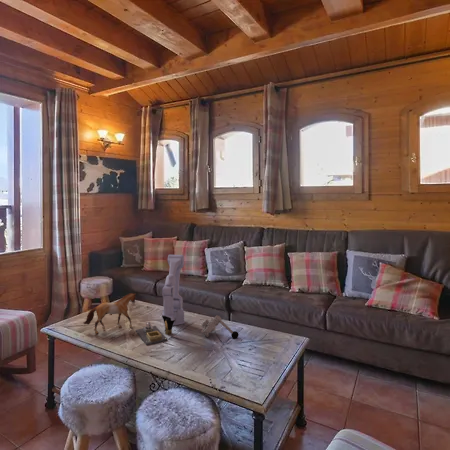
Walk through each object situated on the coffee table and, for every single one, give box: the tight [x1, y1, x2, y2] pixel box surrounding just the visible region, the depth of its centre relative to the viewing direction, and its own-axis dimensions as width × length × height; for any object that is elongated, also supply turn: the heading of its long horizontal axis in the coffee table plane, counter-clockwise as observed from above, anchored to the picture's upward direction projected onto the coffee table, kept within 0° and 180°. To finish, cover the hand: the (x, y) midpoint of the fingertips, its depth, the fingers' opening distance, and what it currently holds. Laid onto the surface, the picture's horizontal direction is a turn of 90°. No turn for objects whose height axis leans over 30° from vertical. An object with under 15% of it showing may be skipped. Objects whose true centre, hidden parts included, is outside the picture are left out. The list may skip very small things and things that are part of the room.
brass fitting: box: [164, 320, 173, 336], centre depth 191 cm, size 4×4×8 cm
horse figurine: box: [82, 292, 137, 334], centre depth 195 cm, size 31×8×21 cm, turn 117°
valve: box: [200, 315, 239, 339], centre depth 189 cm, size 10×20×15 cm
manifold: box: [135, 321, 168, 346], centre depth 188 cm, size 12×21×6 cm, turn 31°
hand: (168, 328), depth 191 cm, fingers closed on brass fitting, 4 cm apart
